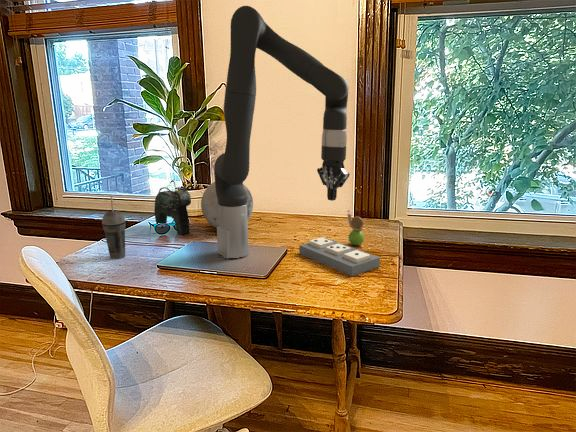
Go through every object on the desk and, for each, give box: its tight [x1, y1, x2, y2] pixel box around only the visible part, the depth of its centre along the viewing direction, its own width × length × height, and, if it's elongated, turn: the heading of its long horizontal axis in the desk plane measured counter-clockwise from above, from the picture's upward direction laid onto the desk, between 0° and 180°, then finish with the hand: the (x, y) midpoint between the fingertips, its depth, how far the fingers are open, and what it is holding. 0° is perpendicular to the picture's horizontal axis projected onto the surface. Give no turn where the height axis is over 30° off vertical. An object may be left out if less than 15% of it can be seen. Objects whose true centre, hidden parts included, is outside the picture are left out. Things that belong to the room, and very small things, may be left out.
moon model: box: [200, 181, 254, 229], centre depth 170 cm, size 20×20×20 cm
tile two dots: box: [308, 237, 334, 249], centre depth 145 cm, size 6×6×3 cm
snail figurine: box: [347, 209, 365, 246], centre depth 153 cm, size 5×6×12 cm
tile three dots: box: [326, 243, 351, 256], centre depth 139 cm, size 6×6×3 cm
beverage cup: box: [101, 195, 127, 260], centre depth 141 cm, size 7×7×20 cm
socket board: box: [298, 237, 381, 277], centre depth 140 cm, size 12×24×3 cm, turn 38°
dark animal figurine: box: [153, 180, 192, 236], centre depth 169 cm, size 20×6×20 cm, turn 48°
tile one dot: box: [344, 249, 370, 264], centre depth 133 cm, size 6×6×3 cm
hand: (331, 199), depth 138 cm, fingers closed
